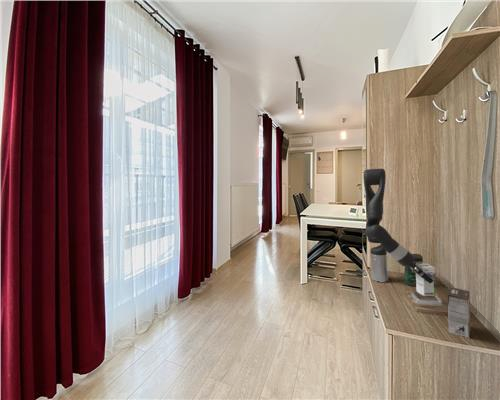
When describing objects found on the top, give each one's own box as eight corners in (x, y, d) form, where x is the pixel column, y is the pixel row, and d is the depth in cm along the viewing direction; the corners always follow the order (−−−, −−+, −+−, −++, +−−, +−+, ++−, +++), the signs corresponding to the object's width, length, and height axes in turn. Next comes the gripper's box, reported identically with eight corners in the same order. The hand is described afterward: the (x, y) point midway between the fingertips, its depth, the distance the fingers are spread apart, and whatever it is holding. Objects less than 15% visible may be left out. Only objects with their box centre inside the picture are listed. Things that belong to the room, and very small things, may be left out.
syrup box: (423, 296, 115) (423, 267, 114) (415, 291, 120) (415, 263, 120) (436, 296, 114) (435, 266, 114) (427, 290, 120) (426, 262, 120)
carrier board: (406, 293, 131) (406, 290, 131) (436, 296, 126) (436, 293, 126) (416, 311, 113) (416, 308, 113) (453, 315, 107) (452, 312, 107)
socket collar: (411, 296, 124) (411, 291, 124) (434, 298, 121) (434, 293, 120) (417, 305, 115) (417, 299, 115) (442, 308, 111) (442, 302, 111)
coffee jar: (407, 286, 140) (406, 256, 139) (401, 281, 147) (401, 252, 146) (426, 287, 138) (425, 255, 137) (419, 281, 145) (418, 252, 145)
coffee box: (450, 322, 103) (449, 286, 102) (470, 328, 98) (469, 290, 97) (448, 332, 96) (447, 294, 95) (469, 339, 92) (468, 298, 91)
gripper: (410, 253, 113) (441, 279, 109) (403, 246, 126) (430, 269, 122) (398, 263, 115) (427, 289, 111) (392, 255, 128) (418, 278, 124)
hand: (429, 279), depth 117 cm, fingers closed on syrup box, 7 cm apart
